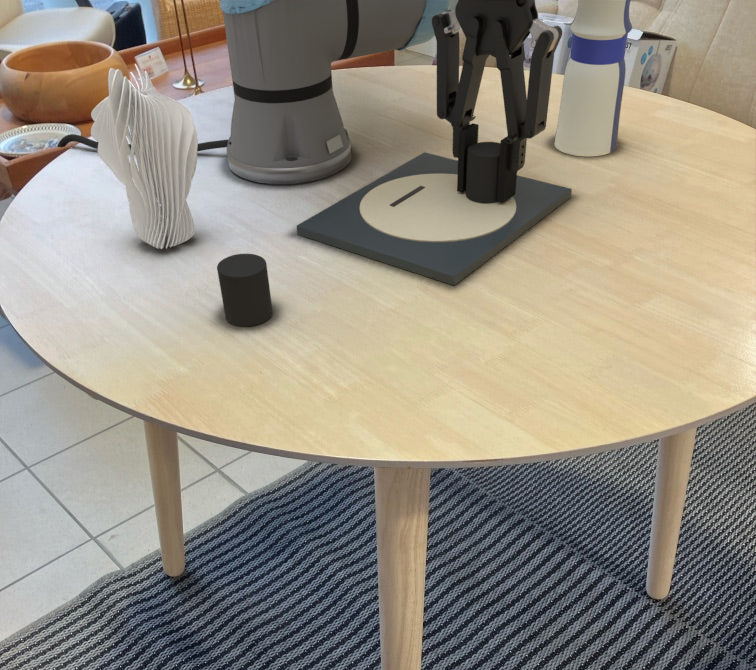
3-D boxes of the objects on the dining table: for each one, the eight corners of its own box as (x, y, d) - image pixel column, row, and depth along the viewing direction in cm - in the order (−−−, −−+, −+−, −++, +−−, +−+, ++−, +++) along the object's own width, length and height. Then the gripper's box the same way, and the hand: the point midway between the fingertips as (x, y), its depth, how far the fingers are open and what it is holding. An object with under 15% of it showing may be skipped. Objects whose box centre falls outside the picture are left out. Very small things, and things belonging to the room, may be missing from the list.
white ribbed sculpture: (174, 216, 96) (138, 39, 83) (218, 239, 91) (187, 55, 79) (109, 242, 91) (62, 59, 79) (153, 267, 87) (110, 77, 75)
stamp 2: (458, 197, 94) (459, 151, 91) (479, 183, 97) (481, 138, 93) (492, 206, 92) (495, 160, 89) (513, 192, 95) (516, 146, 91)
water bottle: (560, 128, 112) (586, -105, 95) (626, 137, 109) (665, -102, 92) (540, 150, 106) (564, -92, 89) (608, 160, 103) (646, -88, 86)
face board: (297, 234, 91) (295, 222, 91) (424, 160, 105) (424, 149, 104) (454, 285, 82) (454, 273, 82) (570, 197, 96) (572, 186, 95)
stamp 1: (215, 317, 79) (206, 268, 76) (247, 297, 82) (240, 248, 79) (250, 331, 77) (242, 281, 74) (282, 310, 80) (276, 261, 77)
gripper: (398, -58, 80) (401, 187, 96) (566, -39, 72) (539, 224, 88) (443, -72, 84) (439, 165, 100) (605, -56, 77) (573, 198, 92)
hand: (486, 192), depth 94 cm, fingers closed on stamp 2, 4 cm apart
